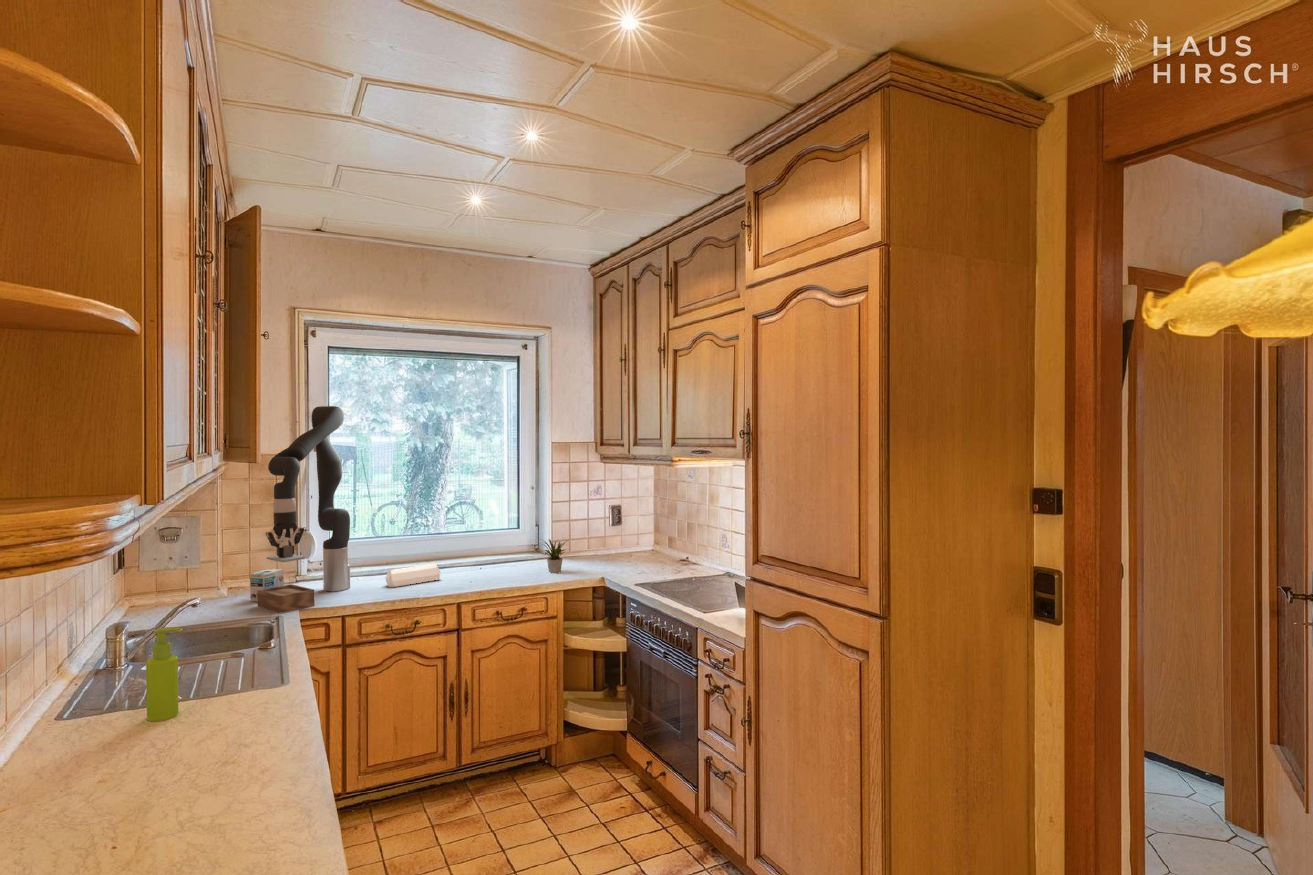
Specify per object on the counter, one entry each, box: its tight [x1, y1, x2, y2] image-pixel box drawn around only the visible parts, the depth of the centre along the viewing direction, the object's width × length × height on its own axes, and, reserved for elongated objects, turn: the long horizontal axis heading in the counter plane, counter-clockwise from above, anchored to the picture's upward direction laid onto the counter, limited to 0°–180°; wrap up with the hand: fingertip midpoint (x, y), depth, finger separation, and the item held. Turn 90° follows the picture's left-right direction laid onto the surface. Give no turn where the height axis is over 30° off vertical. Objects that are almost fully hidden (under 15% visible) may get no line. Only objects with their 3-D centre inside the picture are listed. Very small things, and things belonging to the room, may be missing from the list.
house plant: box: [539, 538, 568, 574], centre depth 322 cm, size 14×14×16 cm
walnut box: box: [256, 583, 315, 614], centre depth 262 cm, size 13×17×6 cm
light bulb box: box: [249, 568, 285, 602], centre depth 274 cm, size 11×7×11 cm, turn 168°
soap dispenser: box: [145, 626, 184, 722], centre depth 161 cm, size 6×7×20 cm
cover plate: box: [266, 544, 306, 563], centre depth 262 cm, size 8×12×5 cm, turn 55°
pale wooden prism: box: [385, 563, 441, 588], centre depth 302 cm, size 7×7×24 cm
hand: (285, 556), depth 262 cm, fingers closed on cover plate, 3 cm apart
